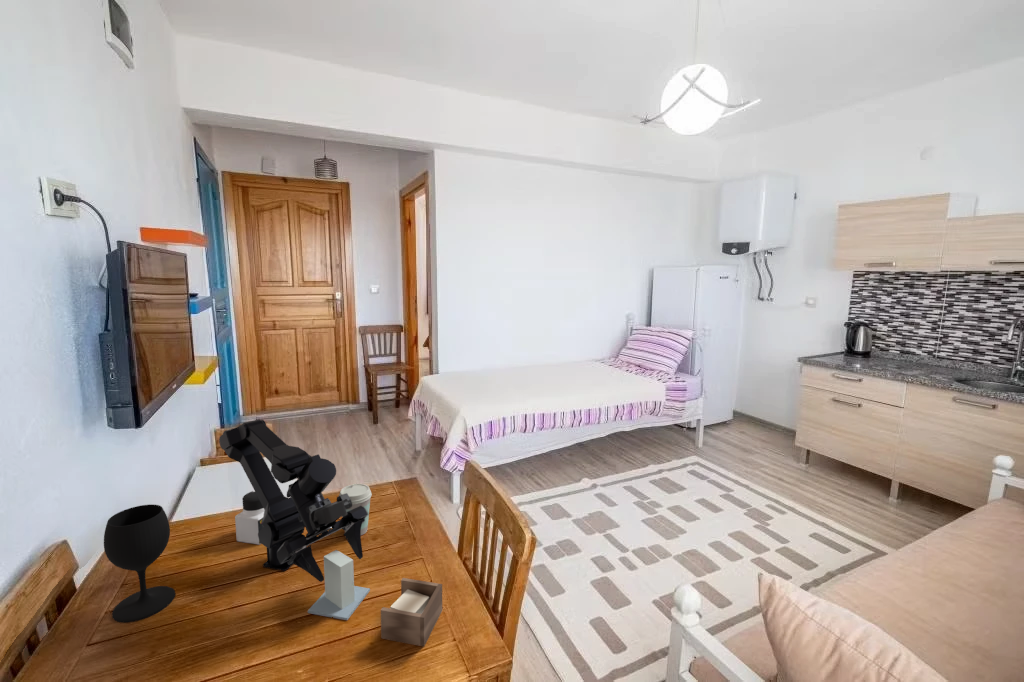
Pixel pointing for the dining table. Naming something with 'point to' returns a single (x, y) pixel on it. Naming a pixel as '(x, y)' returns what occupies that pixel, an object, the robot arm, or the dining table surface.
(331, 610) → the mat
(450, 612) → the dining table surface
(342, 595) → the pale grey rectangular block
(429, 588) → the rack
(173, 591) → the wine glass
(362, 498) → the coffee cup
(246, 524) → the medicine bottle
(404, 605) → the offcut stack
